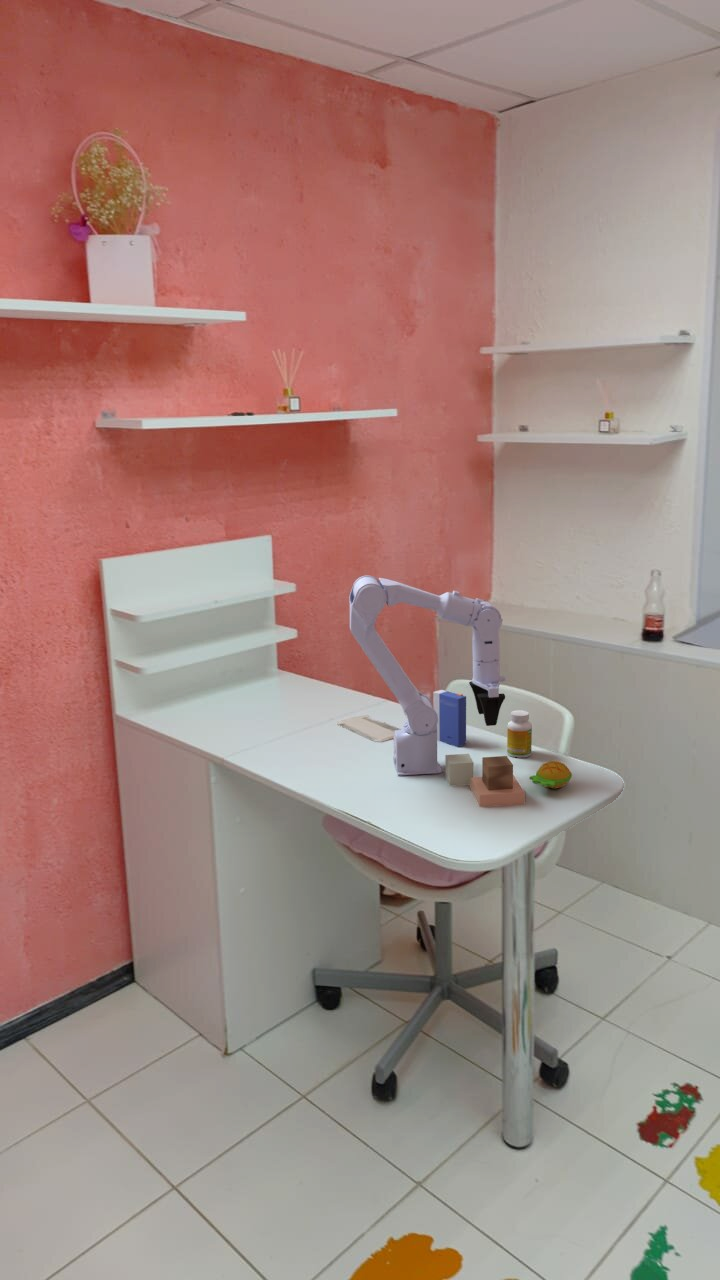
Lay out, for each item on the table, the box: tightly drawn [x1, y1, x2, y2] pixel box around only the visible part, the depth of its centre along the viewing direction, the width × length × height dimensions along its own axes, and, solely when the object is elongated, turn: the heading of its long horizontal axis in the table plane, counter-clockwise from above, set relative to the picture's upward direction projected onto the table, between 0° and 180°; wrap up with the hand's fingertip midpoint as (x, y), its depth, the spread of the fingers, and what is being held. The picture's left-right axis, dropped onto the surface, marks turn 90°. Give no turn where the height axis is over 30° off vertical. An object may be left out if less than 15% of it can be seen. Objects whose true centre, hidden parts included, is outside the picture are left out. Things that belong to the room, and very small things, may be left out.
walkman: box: [432, 689, 467, 748], centre depth 223 cm, size 8×3×12 cm, turn 43°
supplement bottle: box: [506, 709, 533, 759], centre depth 215 cm, size 5×5×10 cm
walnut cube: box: [481, 755, 514, 790], centre depth 193 cm, size 5×5×5 cm
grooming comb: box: [336, 714, 402, 743], centre depth 235 cm, size 18×10×1 cm, turn 36°
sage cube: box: [444, 753, 474, 787], centre depth 202 cm, size 5×5×5 cm
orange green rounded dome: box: [529, 760, 573, 789], centre depth 196 cm, size 7×10×5 cm
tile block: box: [469, 774, 526, 808], centre depth 194 cm, size 9×9×3 cm
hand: (487, 719), depth 208 cm, fingers open, 7 cm apart
